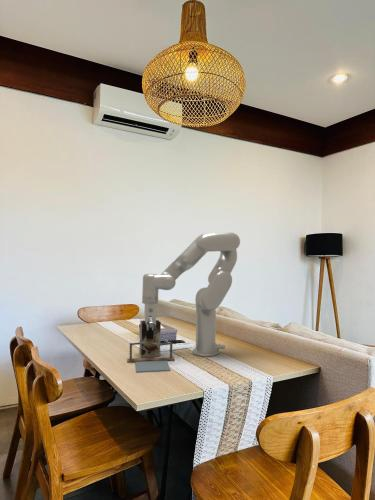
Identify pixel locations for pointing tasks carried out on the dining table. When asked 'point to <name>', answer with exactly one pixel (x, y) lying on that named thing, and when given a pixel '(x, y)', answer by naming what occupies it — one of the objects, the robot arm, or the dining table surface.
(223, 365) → the dining table surface
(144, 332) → the coffee box
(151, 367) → the mat
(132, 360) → the wire stand
